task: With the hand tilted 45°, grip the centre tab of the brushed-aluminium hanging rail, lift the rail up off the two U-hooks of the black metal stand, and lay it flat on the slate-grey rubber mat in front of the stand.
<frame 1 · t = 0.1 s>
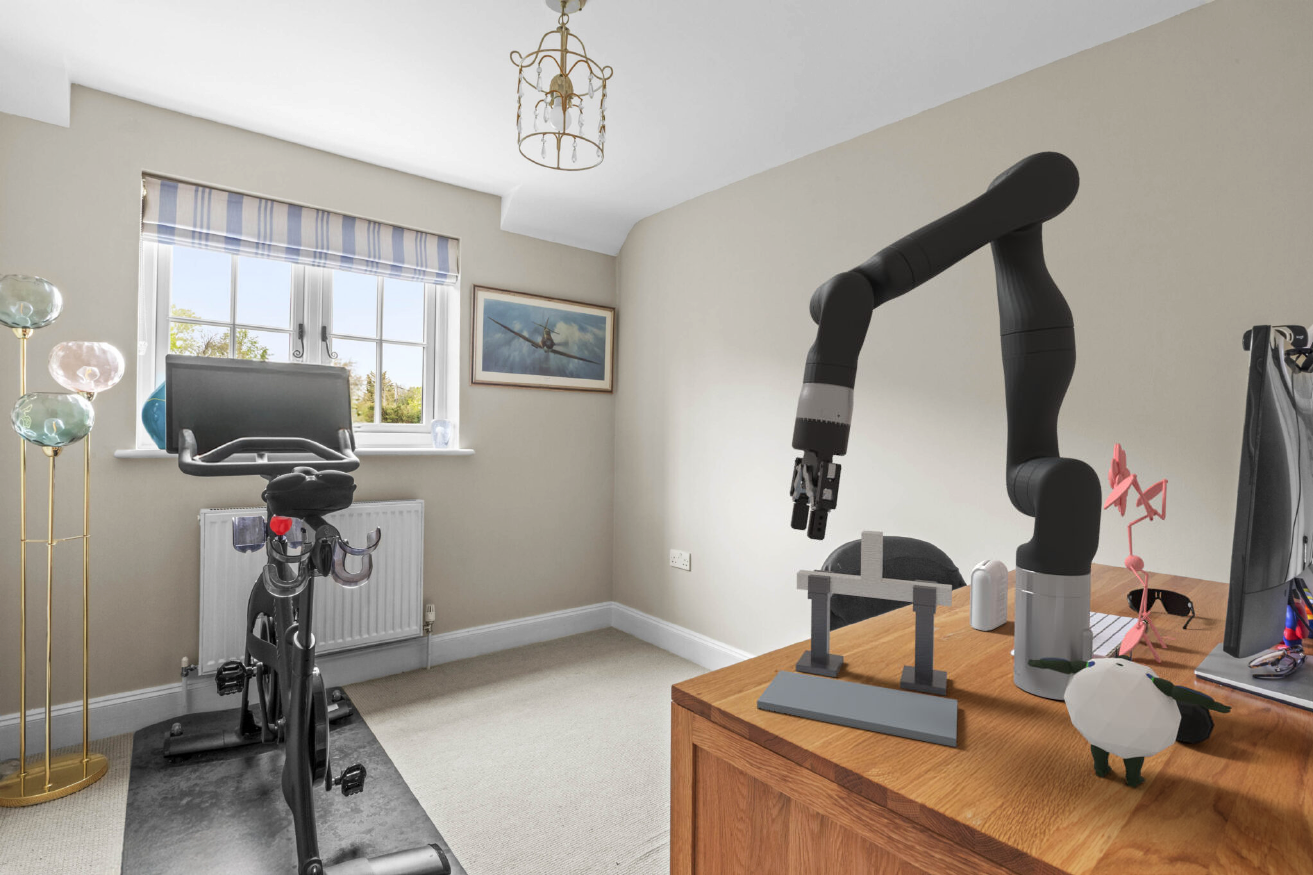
hand: (806, 534, 92), 22 cm above the table, tool pointing down, fingers open, 8 cm apart
figurine 2: (1113, 647, 113), on the table
figurine: (1118, 776, 71), on the table
rail: (871, 595, 99), point 12 cm above the table, touching hook stand
sunglasses: (1161, 621, 129), on the table
mat: (857, 707, 87), on the table
hook stand: (870, 674, 99), on the table
photo printer: (988, 626, 125), on the table
microphone: (1178, 722, 85), on the table
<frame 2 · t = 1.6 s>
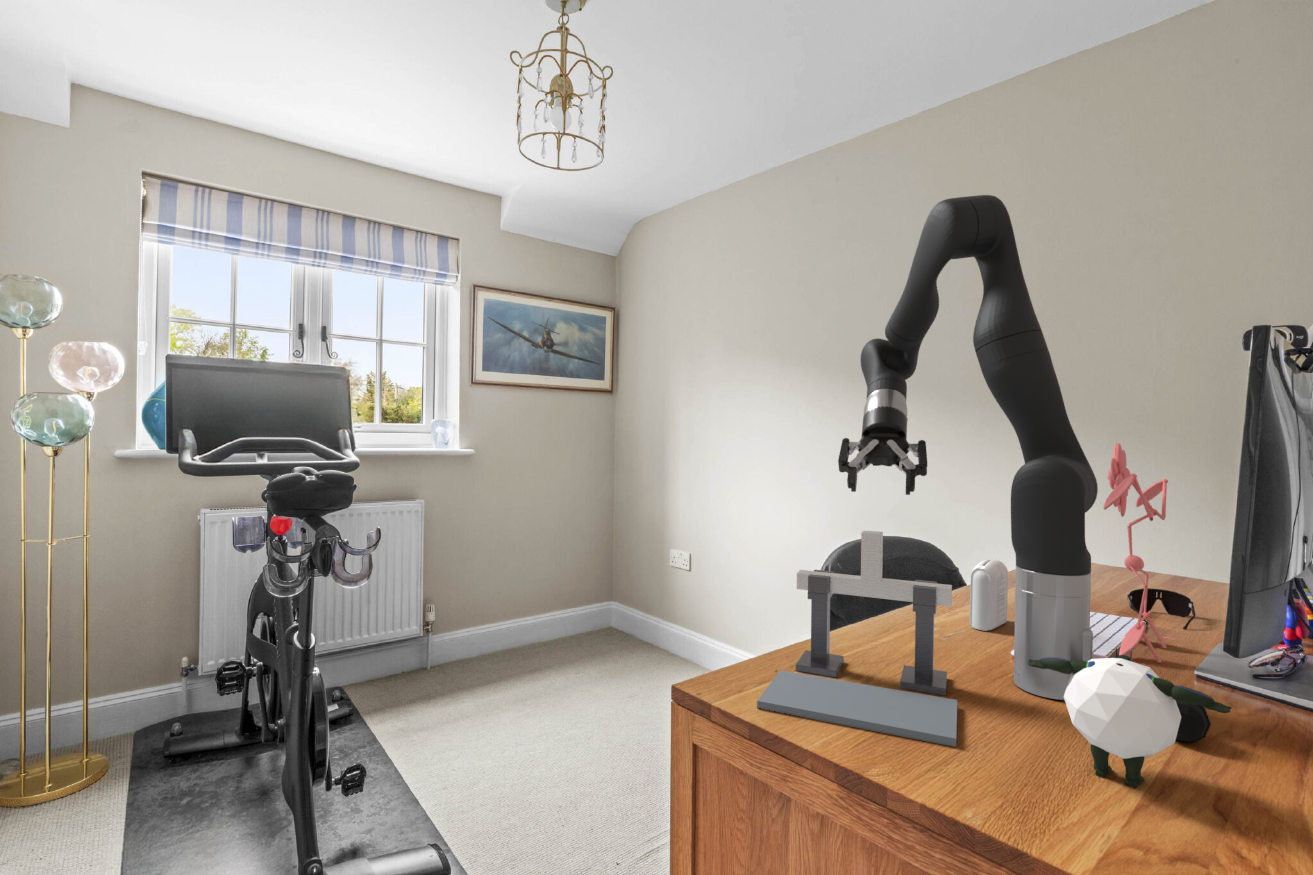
hand: (880, 490, 108), 27 cm above the table, tool tilted 45°, fingers open, 8 cm apart
nothing on the table moved.
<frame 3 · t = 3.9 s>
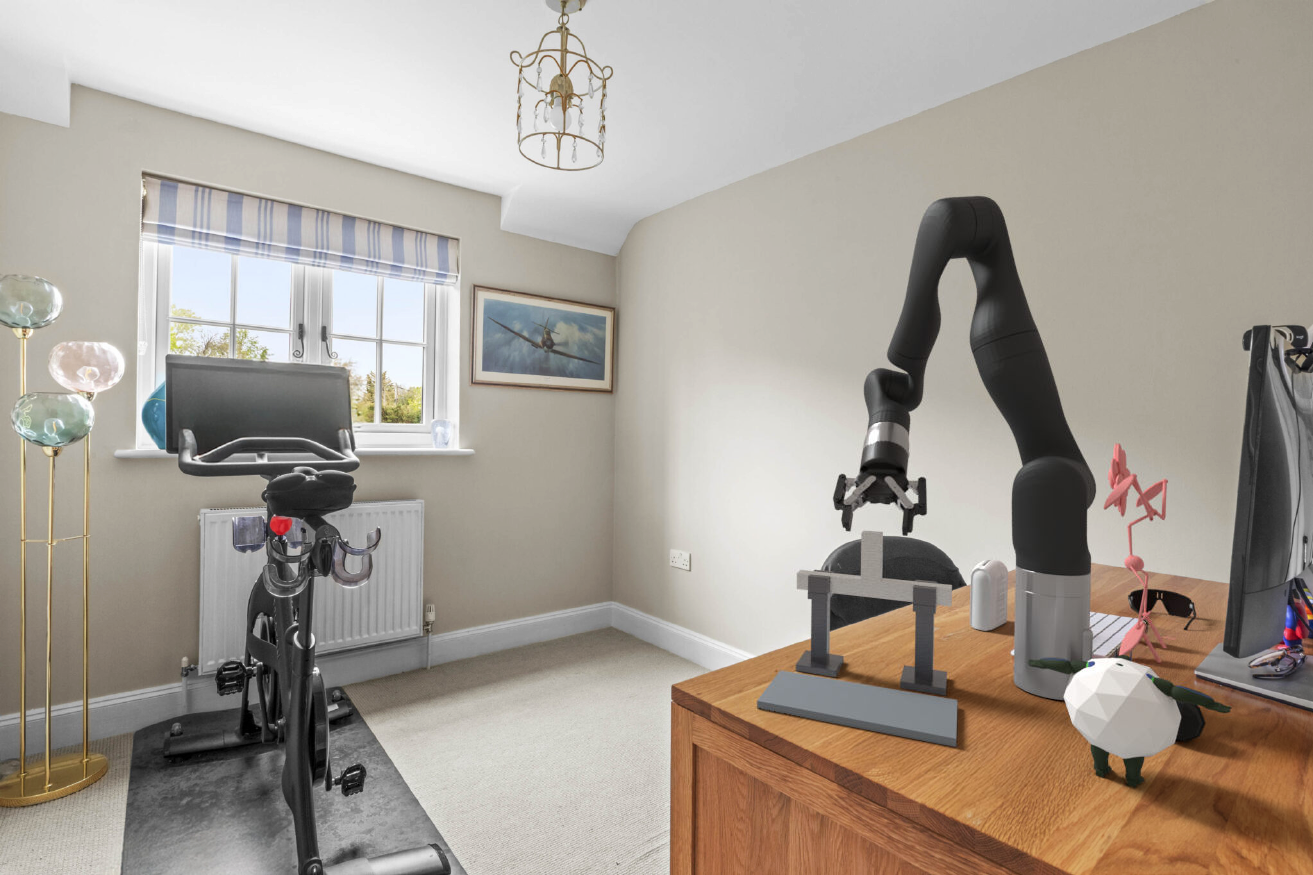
hand: (875, 530, 102), 21 cm above the table, tool tilted 45°, fingers open, 8 cm apart
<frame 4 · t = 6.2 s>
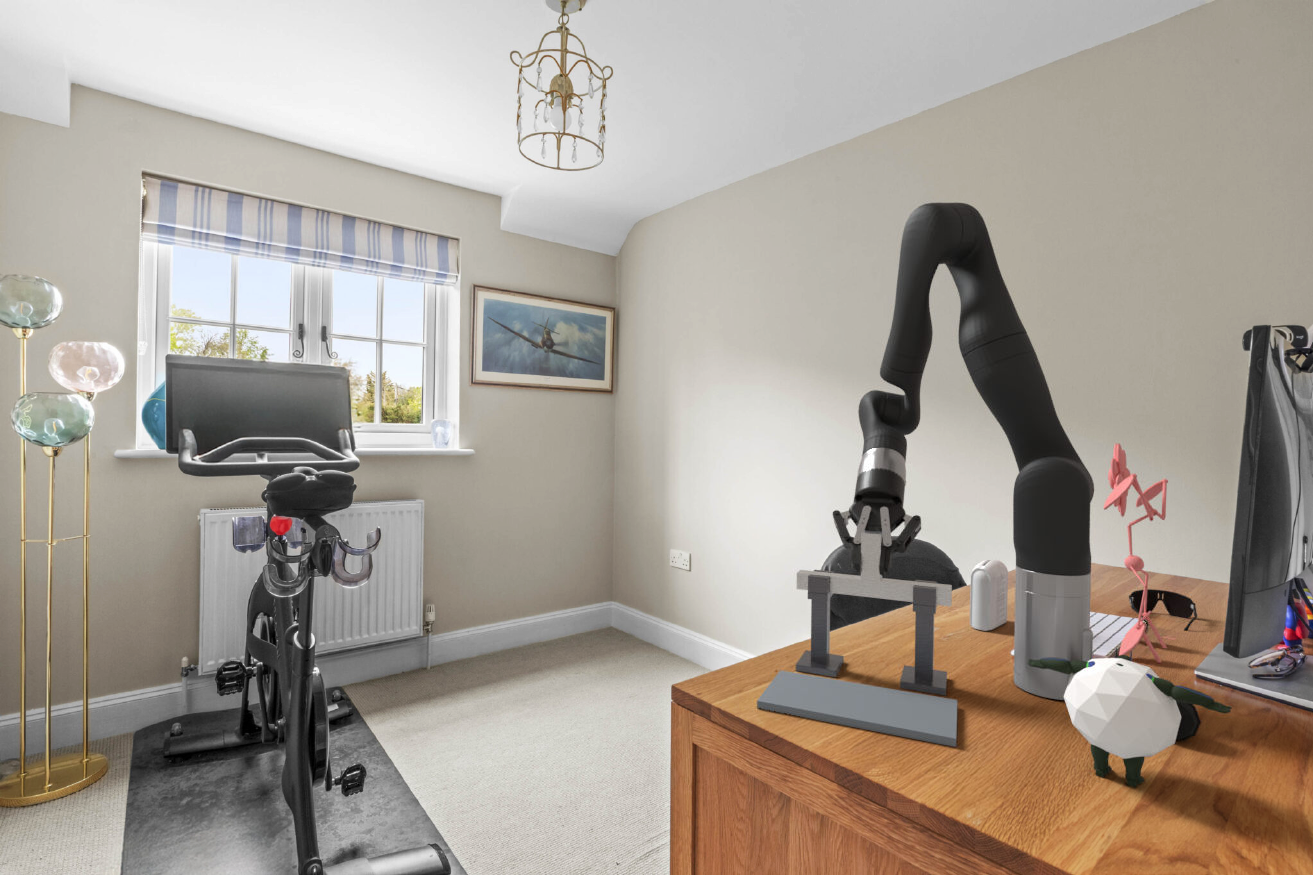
hand: (870, 570, 97), 16 cm above the table, tool tilted 45°, fingers closed on rail, 2 cm apart
rail: (871, 595, 99), point 12 cm above the table, touching gripper, hook stand
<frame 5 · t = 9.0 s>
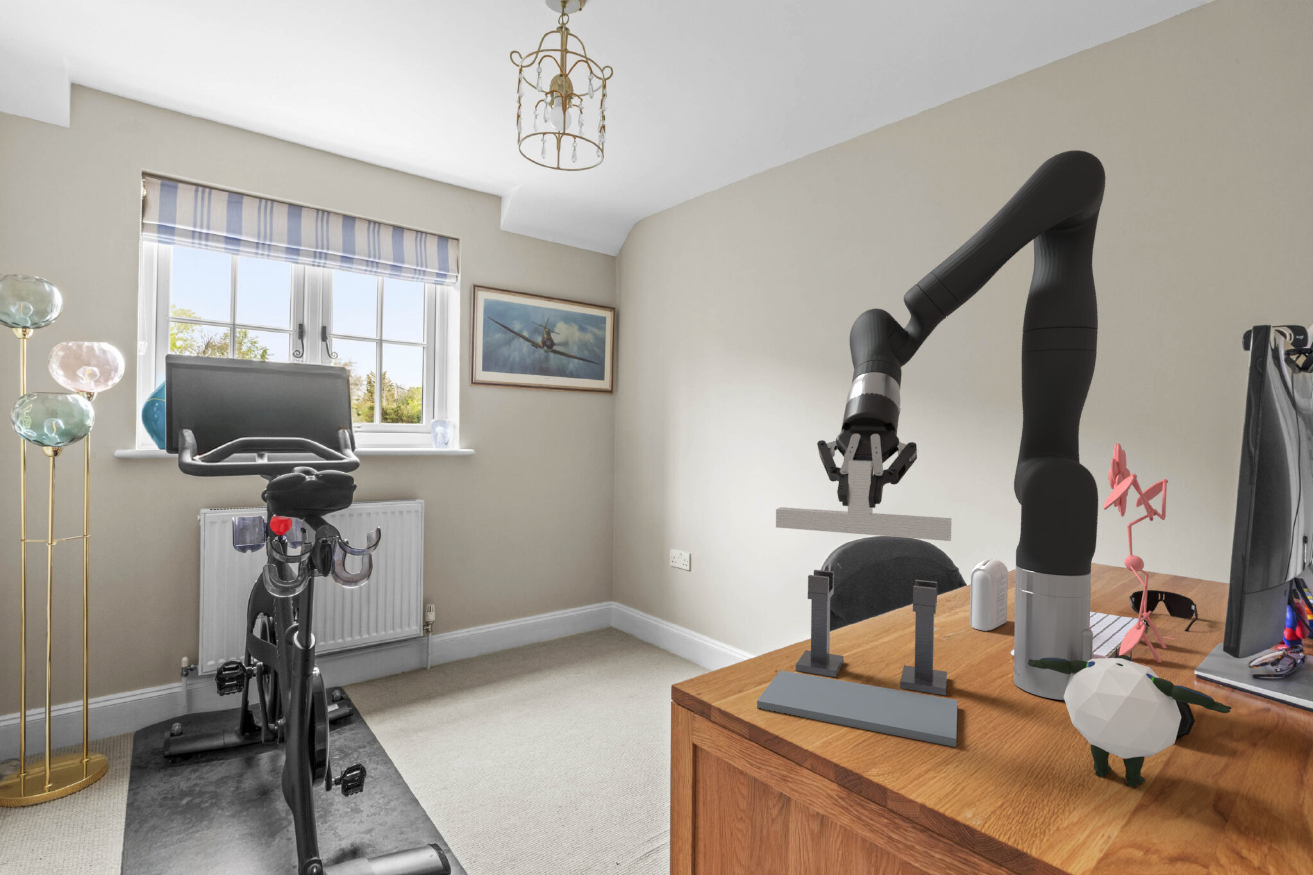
hand: (858, 502, 85), 28 cm above the table, tool tilted 45°, fingers closed on rail, 2 cm apart
rail: (859, 532, 87), point 23 cm above the table, touching gripper
when the fingers open (7 cm above the table, at t = 11.8 s): rail drops 2 cm, resting on mat.
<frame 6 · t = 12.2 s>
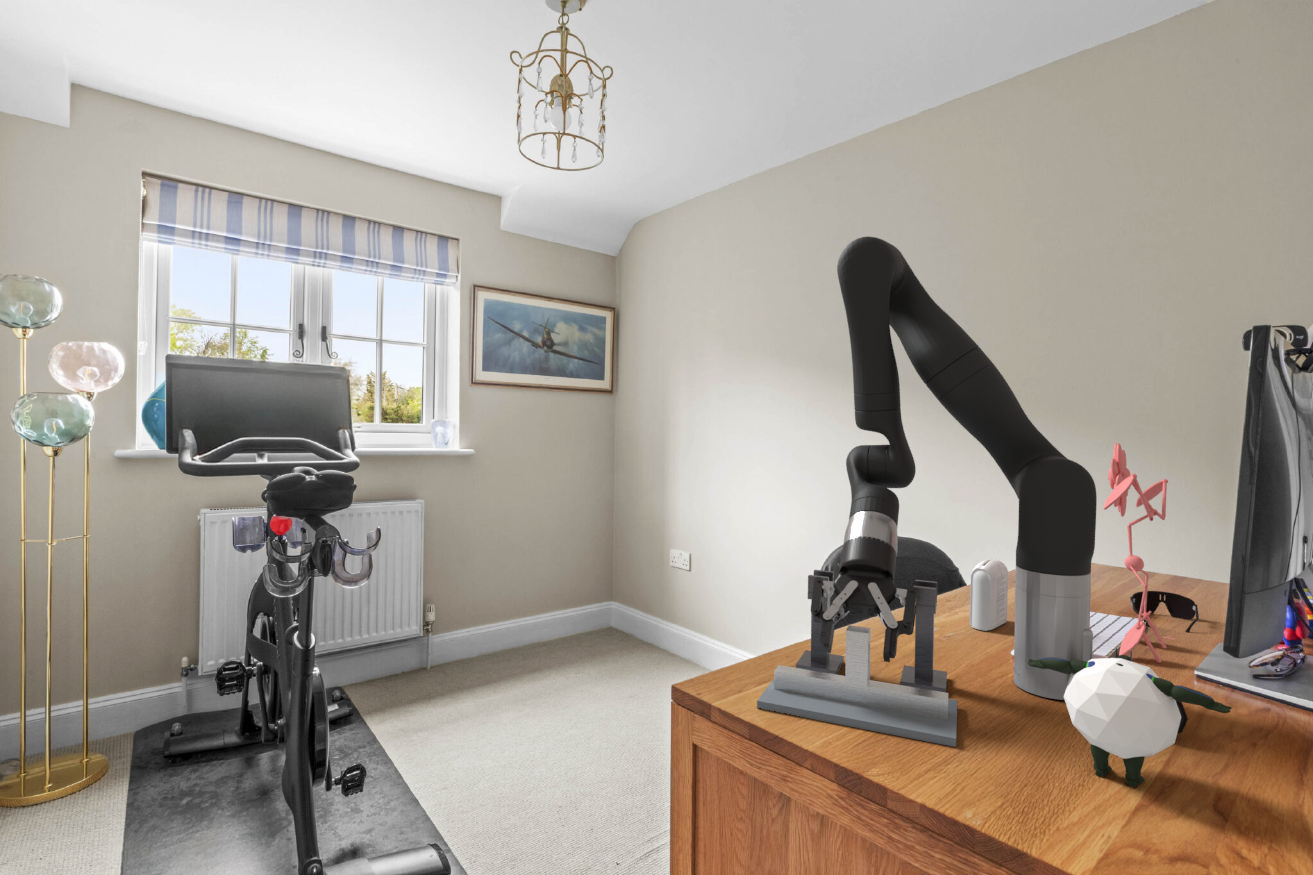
hand: (856, 654, 86), 8 cm above the table, tool tilted 45°, fingers open, 7 cm apart
rail: (857, 700, 87), point 1 cm above the table, touching mat
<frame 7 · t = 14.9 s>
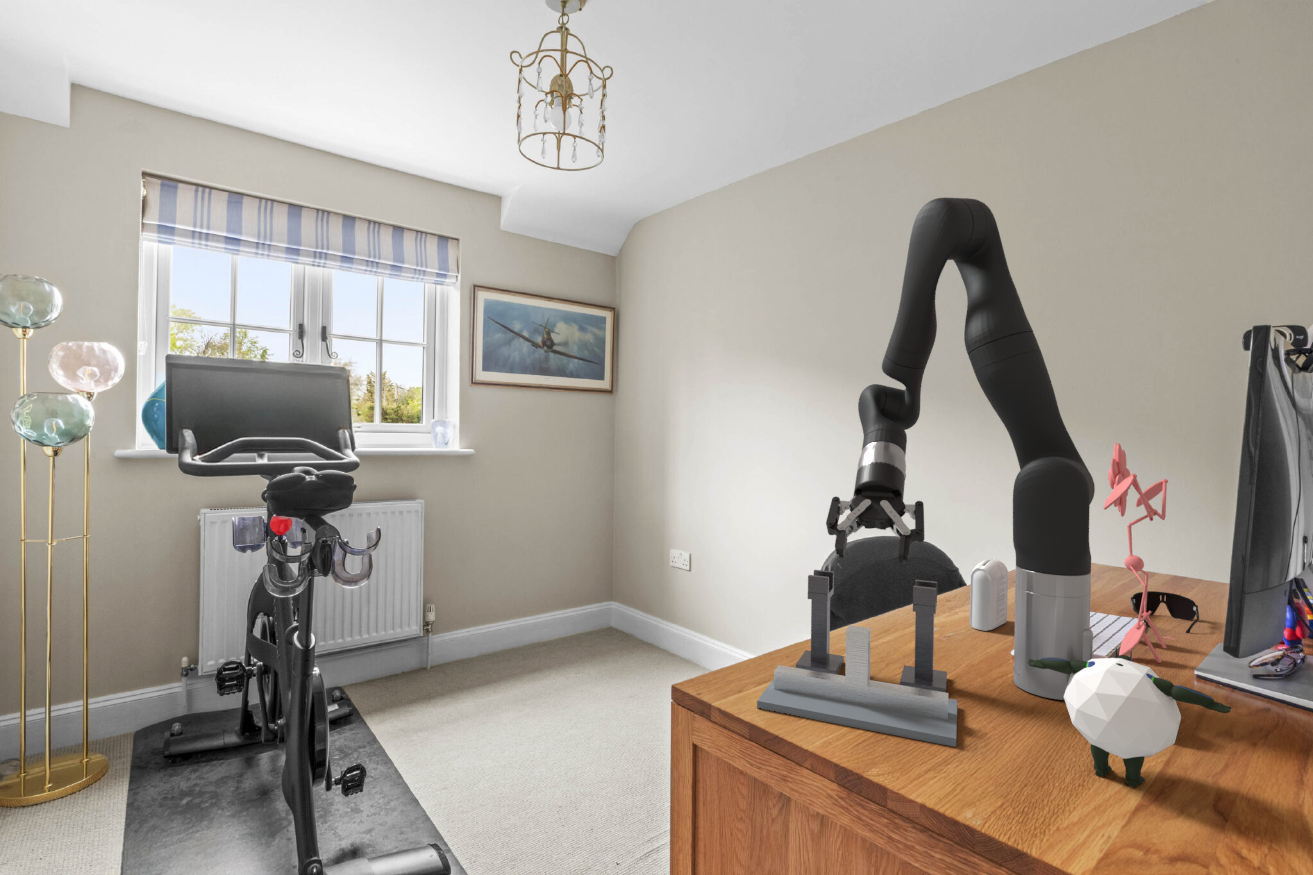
hand: (870, 558, 98), 18 cm above the table, tool tilted 45°, fingers open, 8 cm apart
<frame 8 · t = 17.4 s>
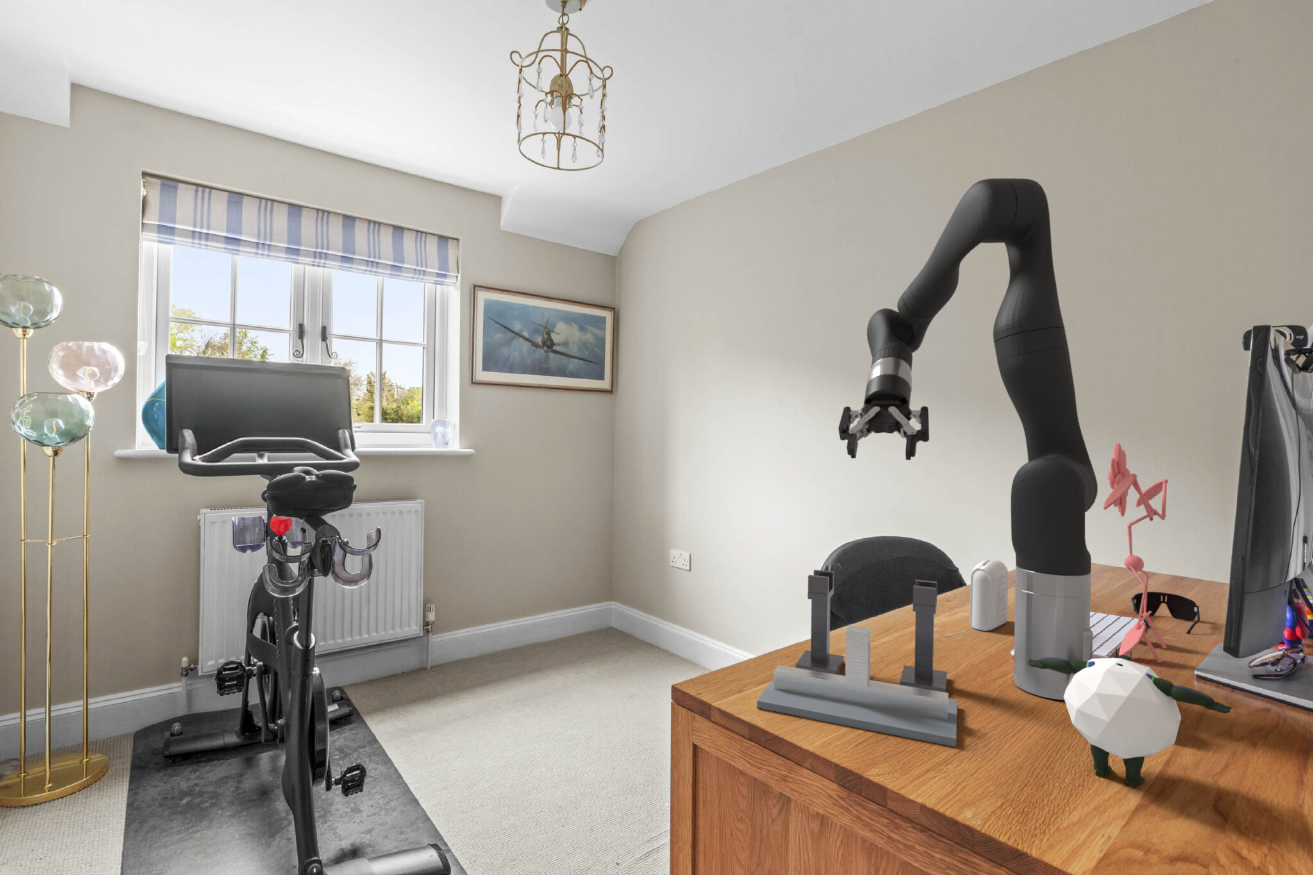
hand: (880, 455, 106), 33 cm above the table, tool tilted 45°, fingers open, 8 cm apart
at the end: rail inside the target area on the mat (0.1 cm from its centre), point 1.0 cm above the mat's base; rail tilted 0°; the gripper is holding nothing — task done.
